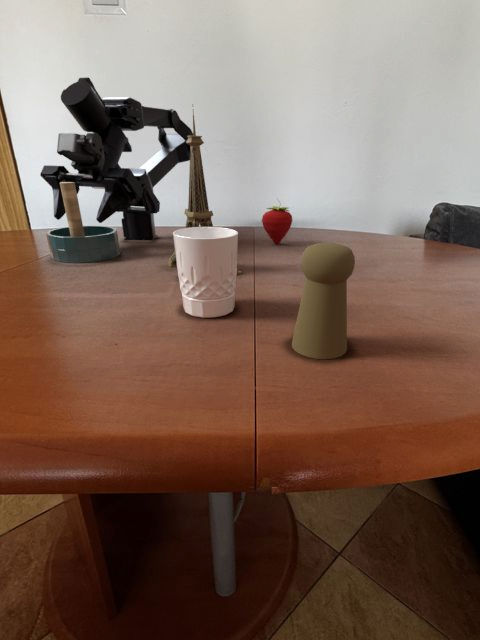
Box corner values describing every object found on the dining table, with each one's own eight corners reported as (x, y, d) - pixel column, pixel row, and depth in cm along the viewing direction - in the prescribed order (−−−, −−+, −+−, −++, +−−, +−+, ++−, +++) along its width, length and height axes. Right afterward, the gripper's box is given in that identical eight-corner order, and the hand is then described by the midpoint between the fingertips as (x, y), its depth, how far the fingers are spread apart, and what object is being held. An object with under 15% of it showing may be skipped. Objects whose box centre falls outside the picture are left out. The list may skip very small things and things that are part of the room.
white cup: (247, 303, 53) (247, 229, 48) (224, 324, 46) (221, 240, 42) (196, 296, 55) (192, 224, 50) (167, 314, 48) (159, 234, 44)
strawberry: (256, 243, 89) (256, 197, 84) (281, 240, 92) (283, 196, 88) (270, 248, 84) (272, 200, 80) (296, 244, 88) (299, 199, 83)
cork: (287, 334, 44) (293, 238, 39) (338, 333, 44) (351, 238, 39) (296, 359, 38) (304, 251, 33) (354, 358, 39) (370, 251, 34)
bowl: (128, 250, 79) (124, 226, 77) (109, 266, 68) (104, 237, 66) (68, 250, 79) (63, 225, 76) (40, 265, 68) (33, 236, 65)
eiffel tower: (241, 273, 66) (240, 103, 54) (184, 281, 61) (169, 97, 49) (216, 260, 74) (210, 109, 62) (163, 266, 69) (147, 104, 57)
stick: (97, 254, 74) (84, 181, 68) (89, 259, 70) (74, 183, 64) (74, 253, 74) (59, 181, 68) (65, 259, 70) (48, 182, 64)
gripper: (34, 115, 68) (0, 186, 64) (124, 115, 64) (94, 191, 60) (74, 163, 79) (47, 226, 74) (154, 166, 74) (130, 233, 70)
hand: (77, 219), depth 69 cm, fingers open, 9 cm apart
